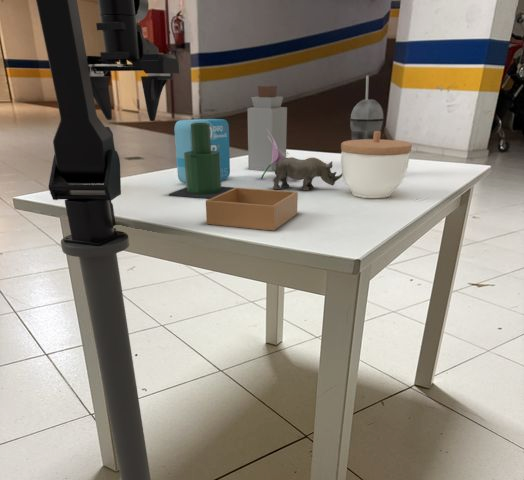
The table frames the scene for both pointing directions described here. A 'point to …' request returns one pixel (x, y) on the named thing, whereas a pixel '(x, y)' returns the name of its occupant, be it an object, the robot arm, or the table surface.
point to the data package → (217, 139)
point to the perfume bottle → (259, 119)
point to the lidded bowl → (374, 165)
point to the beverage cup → (366, 118)
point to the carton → (252, 208)
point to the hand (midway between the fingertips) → (130, 120)
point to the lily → (275, 155)
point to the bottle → (202, 162)
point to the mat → (208, 196)
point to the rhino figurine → (303, 172)
